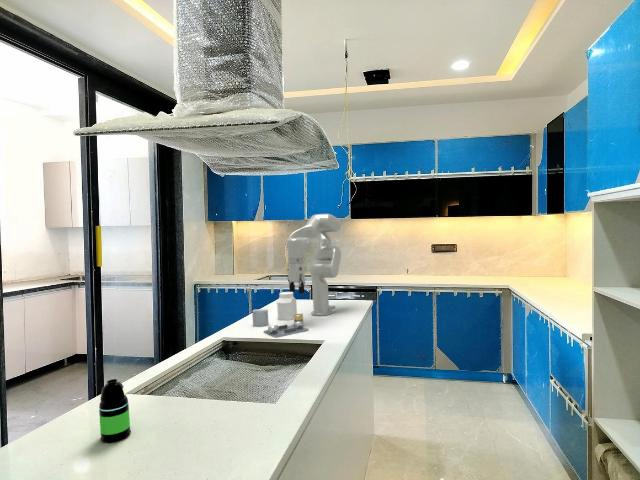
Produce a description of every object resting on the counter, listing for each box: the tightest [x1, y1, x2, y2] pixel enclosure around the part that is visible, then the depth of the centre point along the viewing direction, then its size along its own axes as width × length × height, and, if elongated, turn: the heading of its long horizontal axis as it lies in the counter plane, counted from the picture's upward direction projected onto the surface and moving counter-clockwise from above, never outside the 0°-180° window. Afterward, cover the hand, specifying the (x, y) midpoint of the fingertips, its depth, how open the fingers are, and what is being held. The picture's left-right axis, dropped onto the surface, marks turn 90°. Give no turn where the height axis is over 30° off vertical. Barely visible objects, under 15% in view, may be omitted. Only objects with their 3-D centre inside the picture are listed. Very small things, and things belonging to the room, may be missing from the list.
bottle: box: [98, 378, 132, 444], centre depth 110 cm, size 7×7×15 cm
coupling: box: [293, 313, 304, 323], centre depth 227 cm, size 5×5×6 cm
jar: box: [276, 291, 298, 321], centre depth 247 cm, size 12×10×15 cm
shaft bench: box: [263, 320, 309, 338], centre depth 214 cm, size 19×13×4 cm
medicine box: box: [251, 308, 270, 327], centre depth 231 cm, size 8×4×9 cm, turn 84°
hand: (296, 292), depth 226 cm, fingers open, 9 cm apart
